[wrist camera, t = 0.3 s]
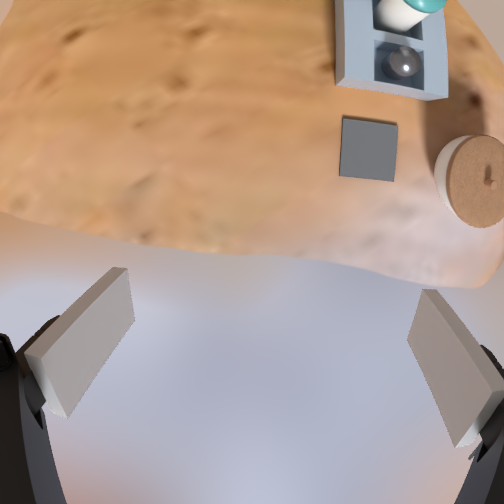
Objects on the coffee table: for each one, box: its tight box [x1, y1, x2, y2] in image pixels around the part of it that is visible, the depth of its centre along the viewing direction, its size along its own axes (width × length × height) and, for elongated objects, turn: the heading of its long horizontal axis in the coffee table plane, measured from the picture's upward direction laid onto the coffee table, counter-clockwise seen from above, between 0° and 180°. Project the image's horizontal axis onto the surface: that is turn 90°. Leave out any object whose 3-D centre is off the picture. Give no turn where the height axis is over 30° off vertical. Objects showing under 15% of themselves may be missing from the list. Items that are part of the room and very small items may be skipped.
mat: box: [339, 118, 398, 182], centre depth 35 cm, size 7×7×1 cm
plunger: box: [381, 46, 422, 80], centre depth 26 cm, size 3×3×4 cm
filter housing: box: [335, 0, 448, 101], centre depth 26 cm, size 12×18×6 cm, turn 179°
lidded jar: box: [434, 135, 504, 228], centre depth 30 cm, size 11×11×9 cm
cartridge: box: [372, 0, 447, 35], centre depth 22 cm, size 5×5×11 cm
